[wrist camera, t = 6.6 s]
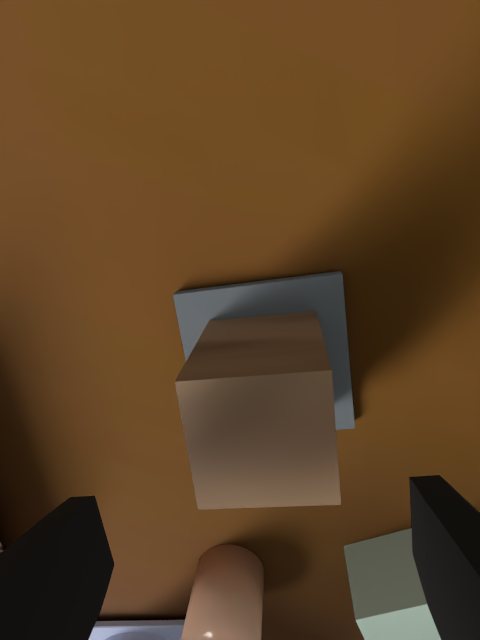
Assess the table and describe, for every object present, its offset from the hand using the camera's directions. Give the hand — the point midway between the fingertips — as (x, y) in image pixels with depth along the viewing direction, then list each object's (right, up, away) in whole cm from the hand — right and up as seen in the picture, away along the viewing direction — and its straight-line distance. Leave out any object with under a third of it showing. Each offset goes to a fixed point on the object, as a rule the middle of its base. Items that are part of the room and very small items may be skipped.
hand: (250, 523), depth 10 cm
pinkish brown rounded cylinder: (-1, -9, +13) cm, 16 cm away
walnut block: (+1, +3, +9) cm, 9 cm away
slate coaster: (+1, +3, +9) cm, 10 cm away
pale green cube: (+8, -8, +12) cm, 16 cm away
